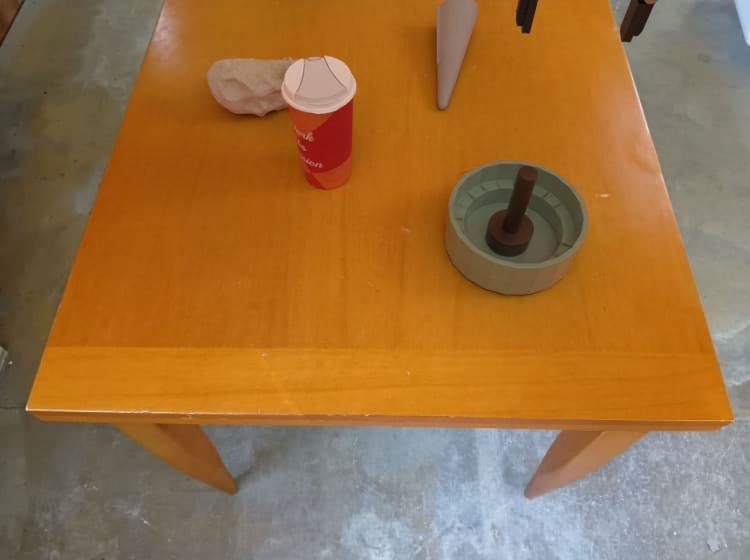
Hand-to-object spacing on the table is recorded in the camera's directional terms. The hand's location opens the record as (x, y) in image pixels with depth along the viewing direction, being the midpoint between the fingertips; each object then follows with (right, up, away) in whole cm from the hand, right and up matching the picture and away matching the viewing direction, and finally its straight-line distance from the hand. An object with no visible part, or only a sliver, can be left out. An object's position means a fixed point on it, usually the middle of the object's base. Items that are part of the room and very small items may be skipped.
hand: (574, 32), depth 50 cm
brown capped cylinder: (-2, -17, +18) cm, 24 cm away
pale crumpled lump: (-31, +4, +32) cm, 45 cm away
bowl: (-2, -17, +18) cm, 25 cm away
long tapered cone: (-5, +10, +35) cm, 37 cm away
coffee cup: (-24, -8, +24) cm, 35 cm away
